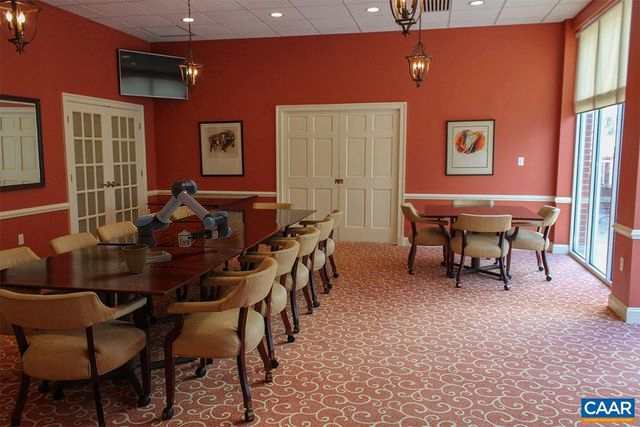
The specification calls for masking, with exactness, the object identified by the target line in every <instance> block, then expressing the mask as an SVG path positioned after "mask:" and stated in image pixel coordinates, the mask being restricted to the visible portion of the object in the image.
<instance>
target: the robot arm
mask: <svg viewBox="0 0 640 427" xmlns="http://www.w3.org/2000/svg"><path fill="white" fill-rule="evenodd" d="M170 192H171V195H172V196H171V198H170V199H169V200H168V201H167V202H166V204H165V205H164V206H163V208H162V209H161V210H160V211H157V212H156V213H155V214H154V215H153V216H152V215H145V216H140V217H138V218H137V219H136V231H137V240H136V244H135V245H147V246H148V249H153V248H156V247H157V241H156V238H155V234H154V232H157V231H163V230H165V229H167V228H168V227H169V226H170V217H172V215H174V213H175V212H176V211H177V210H178V208H179V207H180V206H181V205H182V204H183V205H184V206H185V207H186V208H188V210H190V211H191V212H192V213H193V214H195V216H197V217H198V218H199V219H200V220H201V221H202V224H203V226H204V227H205V228H206V229H205V228H204V231H194V232H193V231H191V232H190V233H191V236H183V240H191V241H192V240H193V241H194V240H195V241H196V240H201V239H205V240H211V239H212V240H216V239H221V238H223V239H224V238H228V237H230V236H231V235H232V228H231V227H230V226H228V224H229V223H228V220H229V219H228V212H227V211H223V210H221V211H217V213H216V215H213V214H211V213H210V212H209V211H208V210H207V209H206V208H205V207H203V206H202V205H201V204H200V203H199V202H198V201H197V200H196V199H195V198H193V197H192V196H195V195H196V193H197V192H198V186H197V184H196V182H195V181H194V180H192V179H185V180H184V179H183V180H178V181H175V182H173V183H172V184H171V186H170ZM214 227H215V228H214Z"/></svg>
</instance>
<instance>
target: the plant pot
mask: <svg viewBox="0 0 640 427" xmlns="http://www.w3.org/2000/svg"><path fill="white" fill-rule="evenodd" d="M148 249H149V248H148V246H147V245H136V244H132V245H127V246H126V245H125V246H122V248H121V250H122V256H123V259H124V260H125V264H126V266H127V268H128V270H129V272H130V274H132V273H137V274H141V272H142V273H144V270H145V267H146V265H147V264H146V258H147V253H148Z"/></svg>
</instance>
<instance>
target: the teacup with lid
mask: <svg viewBox="0 0 640 427" xmlns="http://www.w3.org/2000/svg"><path fill="white" fill-rule="evenodd" d="M183 236H191V232H189V231H187V230H186V229H183V230H182V231H181V232H179V233H178V234H177V238H178V247H180V248H189V247H191V246H192V243H194V242H195V241H196V240H194V239H193V241H192V239H191V240H183Z"/></svg>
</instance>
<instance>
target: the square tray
mask: <svg viewBox="0 0 640 427" xmlns="http://www.w3.org/2000/svg"><path fill="white" fill-rule="evenodd" d="M171 260H173V258H172V254H170V253H169V252H167V251H166V250H156V251H148V252H147V258H146V264H145V265H150V263H151V264H157V262H158V263H163V262H164V263H165V262H171Z"/></svg>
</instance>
